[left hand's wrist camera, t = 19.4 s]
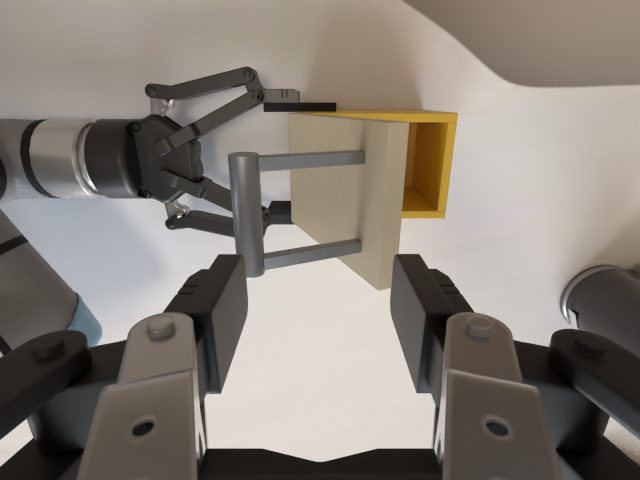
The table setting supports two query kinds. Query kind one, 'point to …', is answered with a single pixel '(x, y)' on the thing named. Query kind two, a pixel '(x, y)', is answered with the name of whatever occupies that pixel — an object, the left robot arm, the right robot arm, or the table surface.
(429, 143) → the yellow hollow box
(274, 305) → the table surface
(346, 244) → the lid
